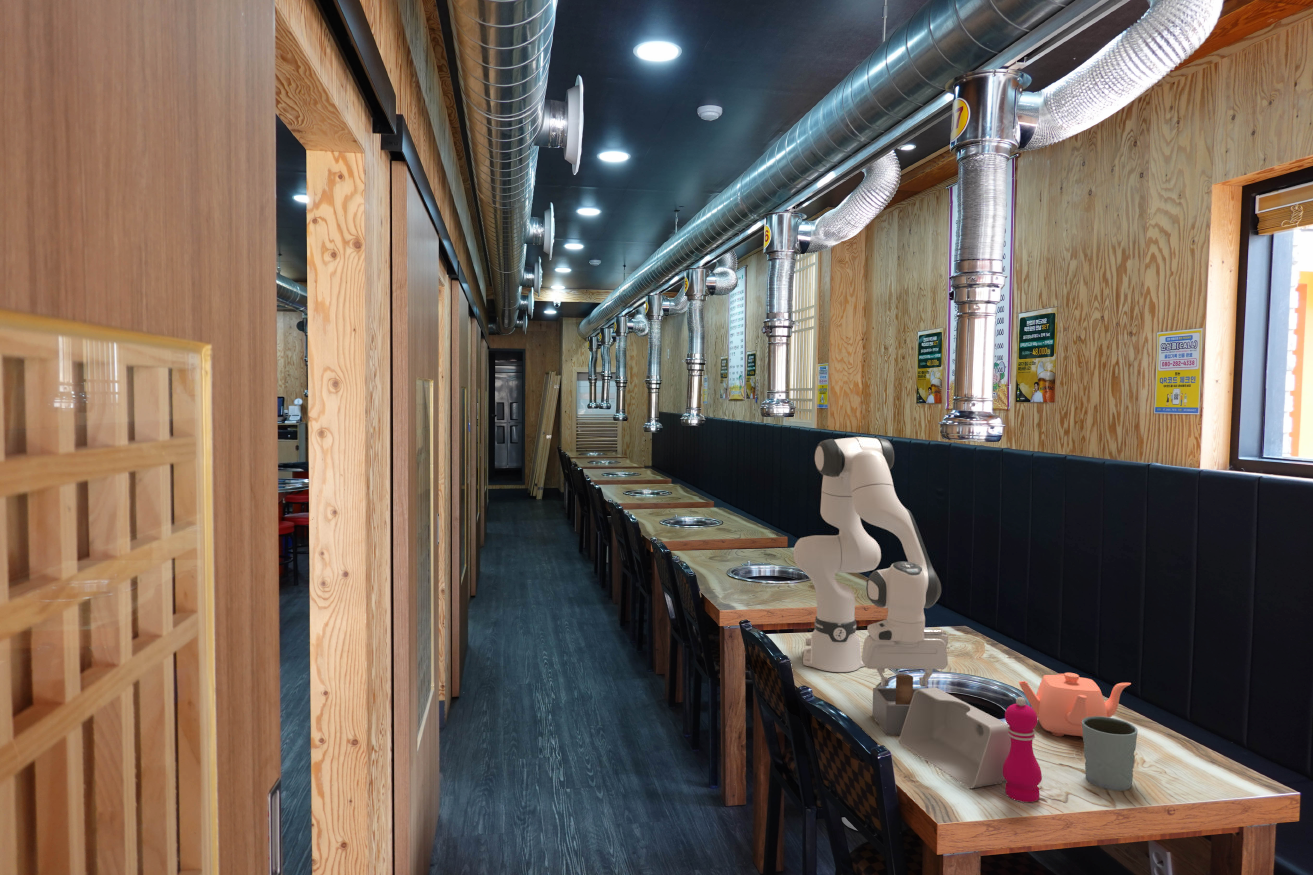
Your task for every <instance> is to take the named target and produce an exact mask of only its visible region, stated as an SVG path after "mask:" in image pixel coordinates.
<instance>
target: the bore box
mask: <svg viewBox="0 0 1313 875" xmlns="http://www.w3.org/2000/svg"><path fill="white" fill-rule="evenodd" d="M918 689H922V687H921V688H919V687H918V688H917V687H913V694H914V692H915V691H916V690H918ZM895 702H896V687H872V711H871V712H872V717H873V718H874V720H875V721H876V722H877V724H878V726H879V727H880V729H881V730H882V731H883V733H884V734H885V736H887V735H888V736H890V735H891V736H894V735H897V736H900V735H901V732H902V728H903V725H904V722H905V719H906V716H907V713H908V710H909V707H910V705H898V704H895Z"/></svg>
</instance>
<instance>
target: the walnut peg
mask: <svg viewBox="0 0 1313 875" xmlns="http://www.w3.org/2000/svg"><path fill="white" fill-rule="evenodd" d="M895 688H896V702H895V704H898V705H910V704H911V701H912V698H913V688H914V676H913V675H911V674H907V673H898V674H895Z"/></svg>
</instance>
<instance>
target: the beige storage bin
mask: <svg viewBox="0 0 1313 875" xmlns="http://www.w3.org/2000/svg"><path fill="white" fill-rule="evenodd" d="M1008 727H1009V725H1008V724H1007V722H1006V721H1005V722H1004V721H1002V720H1000V719H999V718H997V717H994V716H992V715H990V714H989V713H986V712H985V711H983V710H982V709H979V708H977V707H976V706H973V705H971V704H969V703H968V702H966V701H963V700H961V699H960V698H957V697H955V696H954V695H951V693H950V694H949V693H948V692H945V691H944V690H942V689H940V688H937V687H928V688H927V687H926V688H921V689H918V690H916V691H915V692H914V694H913V698H912V701H911V704H910V707H909V710H908V713H907V716H906V719H905V722H904V725H903V728H902V732H901V735H899V743H900V745H902V746H903V747H905V748H906V749H908V750H909V751H911V752H912V753H914V754H916V755H917V756H918V757H920V758H922V759H923V760H925V761H927V762H928V763H930V764H931V765H933V766H934V767H936V768H937V769H939V770H940V771H942V772H943V773H945V774H947V775H948V776H950V777H951V778H953V779H954V780H956V781H958V782H959V783H960V782H961V784H962V785H963V784H964V785H963V786H965V787H967V788H968V789H970V788H971V789H976V788H982V787H987V786H993V785H997V784H1003V783H1007V780H1006V779H1005V778H1004V776H1003V765H1004V762H1005V760H1006V758H1007V756H1008V754H1009V752H1010V748H1011V738H1010V736H1009V735H1008Z"/></svg>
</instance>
